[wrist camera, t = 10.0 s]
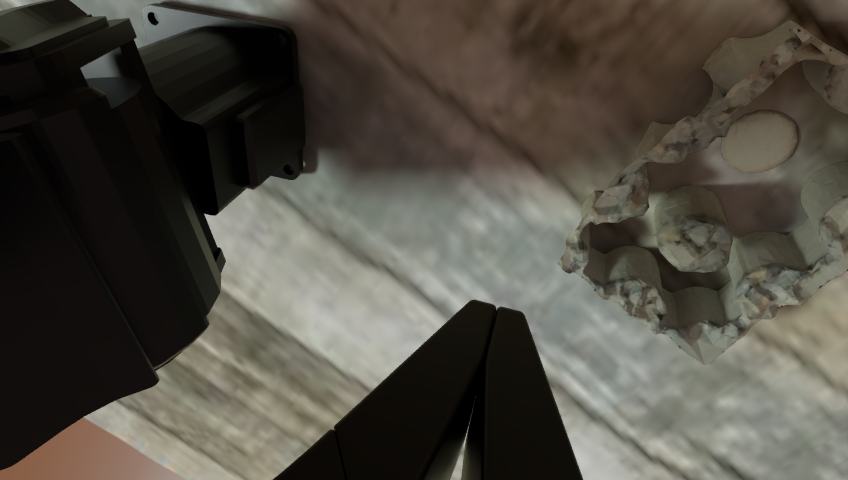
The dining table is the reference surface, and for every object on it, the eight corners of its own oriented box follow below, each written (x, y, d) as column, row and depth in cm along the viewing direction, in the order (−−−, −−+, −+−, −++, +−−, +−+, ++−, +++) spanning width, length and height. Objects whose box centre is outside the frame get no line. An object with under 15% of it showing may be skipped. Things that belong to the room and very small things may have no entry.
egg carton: (766, -19, 16) (808, 7, 13) (954, 122, 17) (1040, 182, 13) (546, 218, 22) (536, 276, 19) (689, 314, 23) (703, 386, 20)
